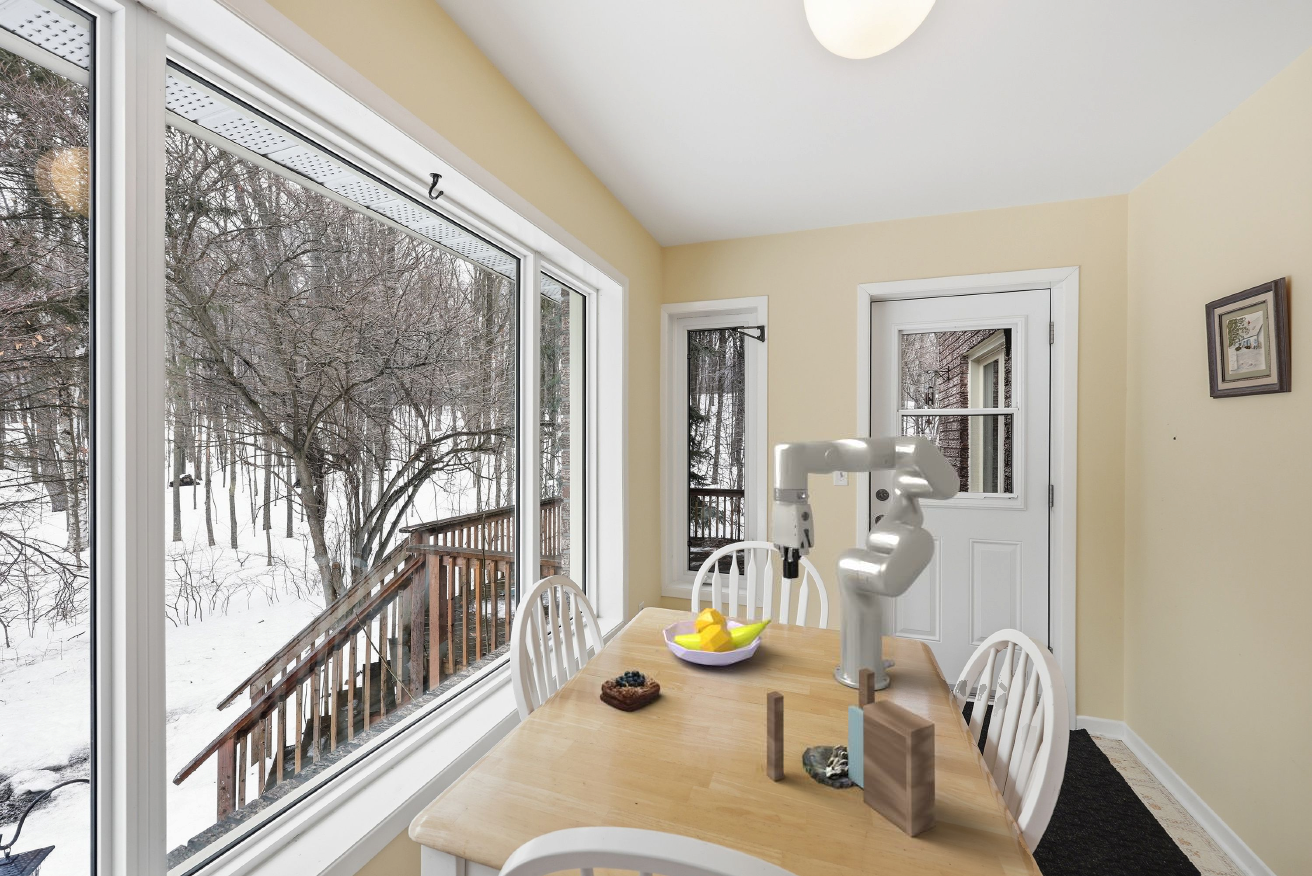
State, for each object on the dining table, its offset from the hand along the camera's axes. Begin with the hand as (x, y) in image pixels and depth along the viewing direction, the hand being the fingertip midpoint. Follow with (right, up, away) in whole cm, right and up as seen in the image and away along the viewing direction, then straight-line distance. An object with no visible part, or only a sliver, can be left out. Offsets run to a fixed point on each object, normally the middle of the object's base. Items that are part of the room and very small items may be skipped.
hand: (790, 577), depth 122 cm
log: (+1, -27, -27) cm, 38 cm away
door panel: (+5, -27, -35) cm, 44 cm away
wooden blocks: (+4, -27, -33) cm, 43 cm away
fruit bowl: (-14, -28, +24) cm, 39 cm away
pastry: (-36, -28, 0) cm, 46 cm away
